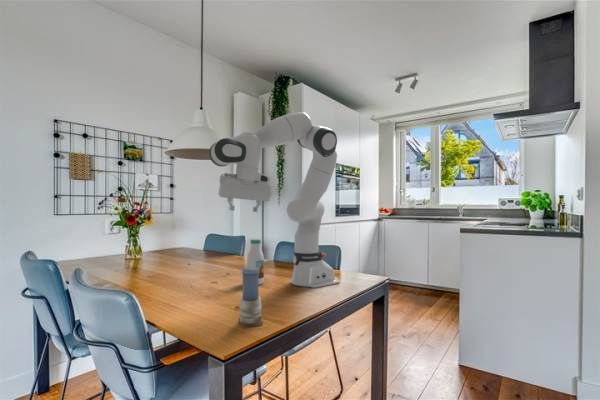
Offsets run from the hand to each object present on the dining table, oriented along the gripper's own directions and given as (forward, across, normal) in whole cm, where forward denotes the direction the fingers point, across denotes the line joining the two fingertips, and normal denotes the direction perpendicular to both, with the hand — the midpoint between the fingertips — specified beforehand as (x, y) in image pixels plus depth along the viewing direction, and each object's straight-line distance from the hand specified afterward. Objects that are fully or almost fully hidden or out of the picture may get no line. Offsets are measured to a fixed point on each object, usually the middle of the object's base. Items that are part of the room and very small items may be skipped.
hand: (243, 211), depth 119 cm
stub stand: (+32, -3, -28) cm, 42 cm away
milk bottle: (+34, +14, +16) cm, 40 cm away
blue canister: (+25, -4, -27) cm, 37 cm away
